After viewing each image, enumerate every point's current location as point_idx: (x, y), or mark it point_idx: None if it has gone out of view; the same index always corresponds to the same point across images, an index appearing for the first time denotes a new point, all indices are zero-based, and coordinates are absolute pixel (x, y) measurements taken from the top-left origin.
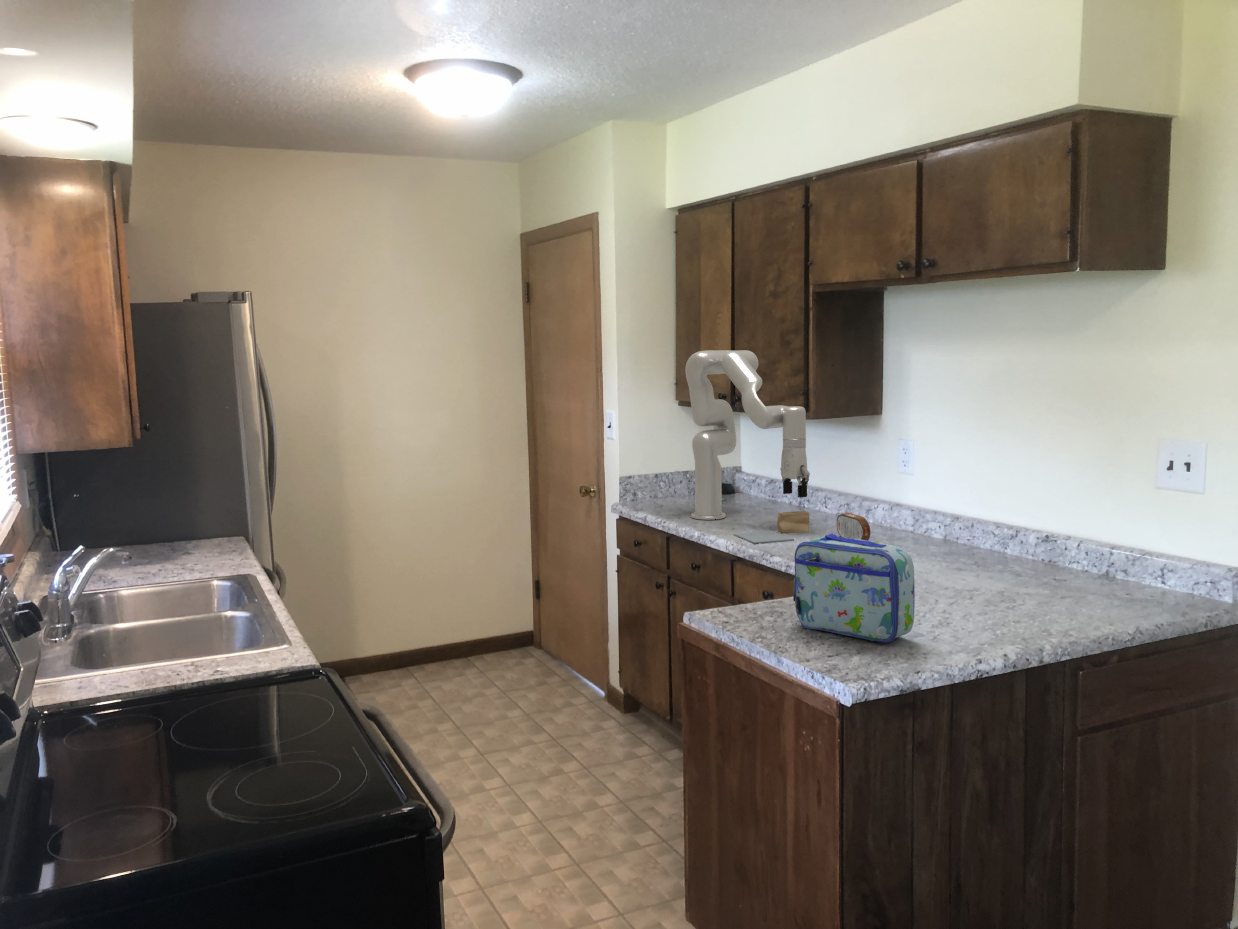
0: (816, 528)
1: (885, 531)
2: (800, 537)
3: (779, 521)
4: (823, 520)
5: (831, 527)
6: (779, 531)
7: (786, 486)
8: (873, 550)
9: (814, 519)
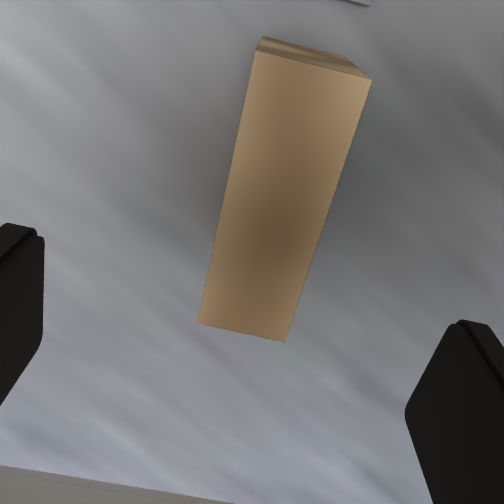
0: None
1: None
2: (72, 51)
3: (317, 58)
4: (393, 482)
5: (230, 402)
6: (310, 49)
7: (479, 430)
8: None
9: None
